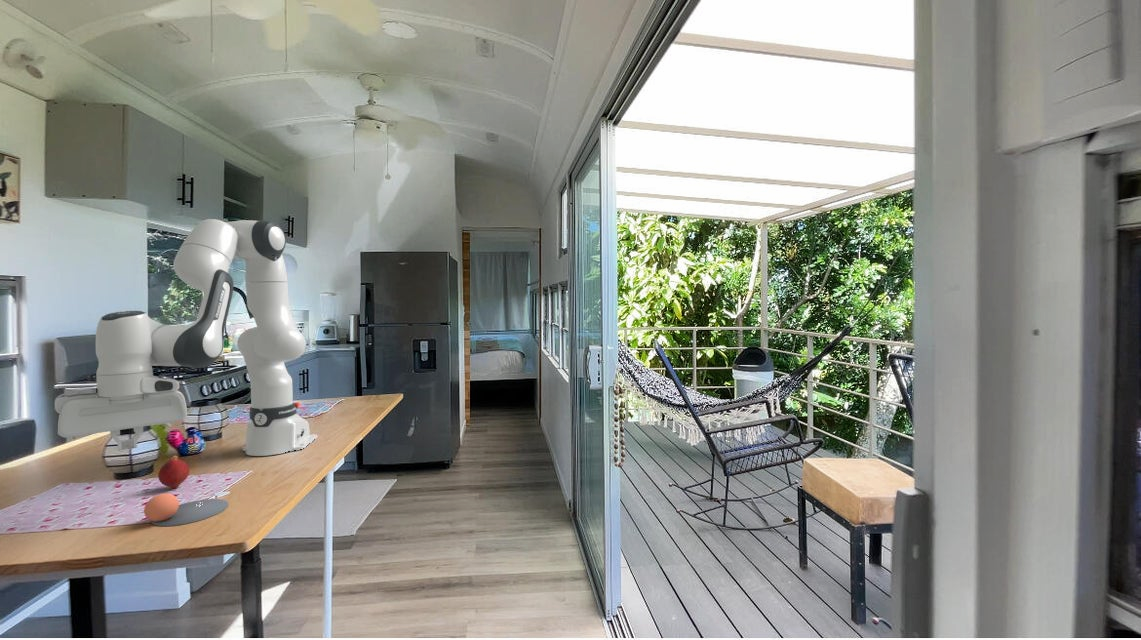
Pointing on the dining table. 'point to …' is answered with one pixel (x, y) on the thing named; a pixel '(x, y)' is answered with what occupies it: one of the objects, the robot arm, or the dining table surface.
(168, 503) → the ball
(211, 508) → the disc
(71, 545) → the dining table surface
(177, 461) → the onion
